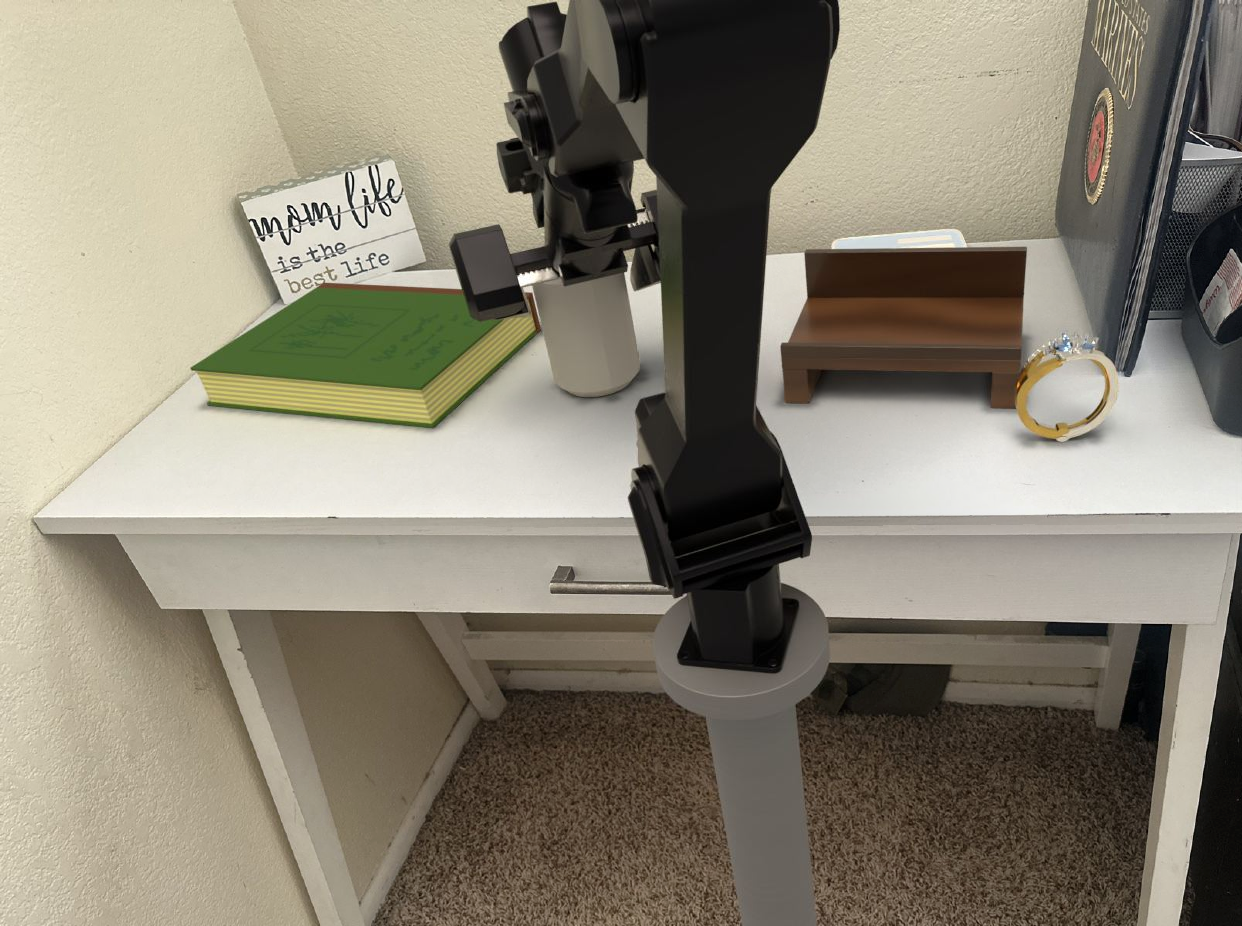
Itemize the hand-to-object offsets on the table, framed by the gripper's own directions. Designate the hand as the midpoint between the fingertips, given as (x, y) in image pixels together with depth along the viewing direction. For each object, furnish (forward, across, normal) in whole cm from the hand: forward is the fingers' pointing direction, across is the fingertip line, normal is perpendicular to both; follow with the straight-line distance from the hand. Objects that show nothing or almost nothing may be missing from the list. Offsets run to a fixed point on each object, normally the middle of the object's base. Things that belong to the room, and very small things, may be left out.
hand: (580, 298), depth 84 cm
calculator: (+7, -31, +4) cm, 32 cm away
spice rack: (-4, -23, +14) cm, 27 cm away
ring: (-15, -28, +25) cm, 40 cm away
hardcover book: (+15, +18, -4) cm, 24 cm away
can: (+5, 0, +6) cm, 8 cm away
